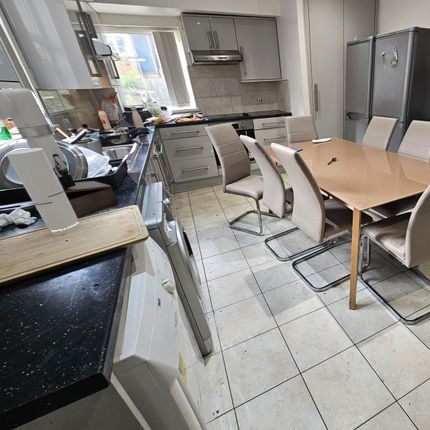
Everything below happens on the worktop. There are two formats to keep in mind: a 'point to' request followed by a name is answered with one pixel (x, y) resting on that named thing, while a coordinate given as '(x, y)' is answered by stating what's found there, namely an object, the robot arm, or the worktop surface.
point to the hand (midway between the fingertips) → (66, 185)
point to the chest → (91, 200)
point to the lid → (85, 186)
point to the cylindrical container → (44, 189)
